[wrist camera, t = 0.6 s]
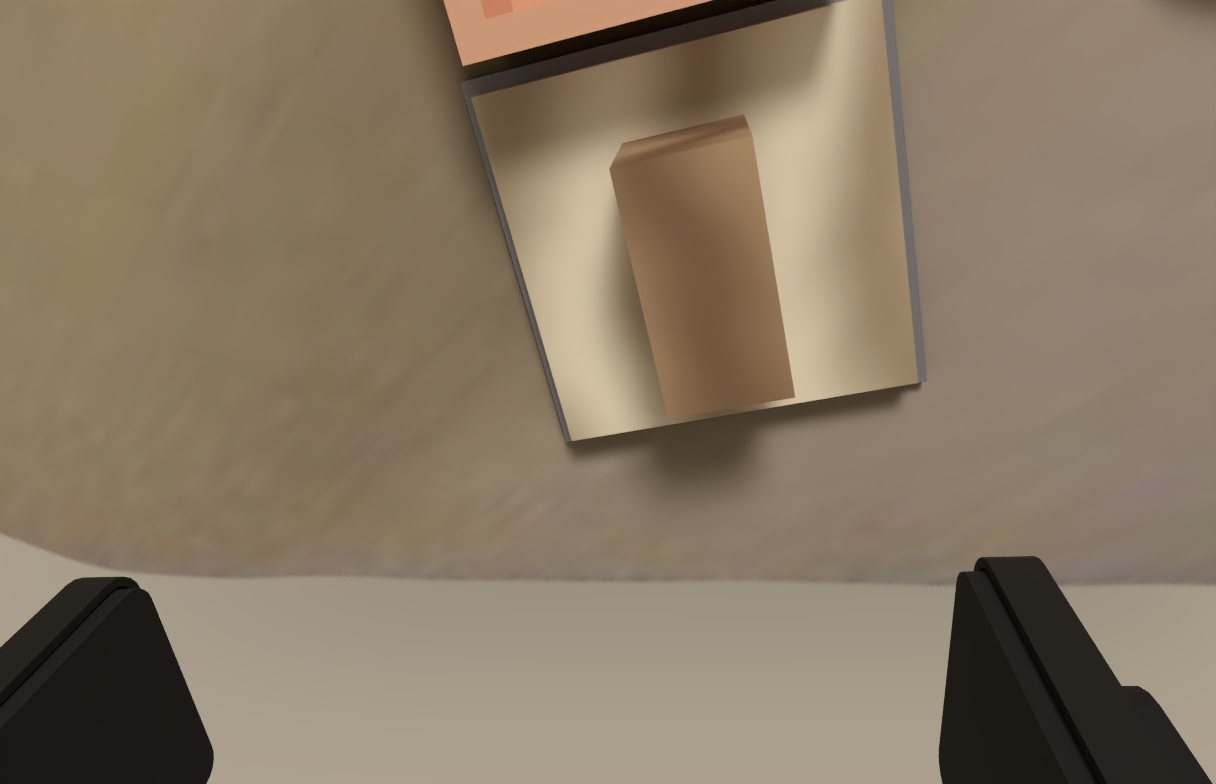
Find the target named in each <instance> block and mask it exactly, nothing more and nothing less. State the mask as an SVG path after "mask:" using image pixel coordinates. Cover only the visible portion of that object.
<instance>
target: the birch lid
mask: <svg viewBox="0 0 1216 784" xmlns="http://www.w3.org/2000/svg"><path fill="white" fill-rule="evenodd" d="M471 99H472V103H473V106H474V110H475V113H476V116H477V120H478V123H479V127H480V130H481V133H482V137H483V140H484V144H485V147H486V151H487V154H488V157H489V161H490V164H491V168H492V171H493V174H494V178H495V181H496V185H497V188H498V191H499V195H500V198H501V202H502V205H503V209H504V212H505V215H506V219H507V222H508V226H509V229H510V232H511V236H512V239H513V243H514V246H515V249H516V253H517V256H518V260H519V263H520V266H521V270H522V273H523V277H524V280H525V284H526V287H527V290H528V294H529V297H530V301H531V304H532V307H533V311H534V314H535V318H536V321H537V324H538V328H539V331H540V335H541V338H542V341H543V345H544V348H545V352H546V355H547V359H548V362H549V365H550V369H551V372H552V376H553V379H554V382H555V386H556V389H557V393H558V396H559V399H560V403H561V406H562V410H563V413H564V417H565V420H566V423H567V427H568V430H569V434H570V437H571V440H572V441H576V440H582V439H588V438H594V437H600V436H606V435H612V434H618V433H624V432H630V431H636V430H642V429H647V428H653V427H659V426H665V425H671V424H677V423H683V422H689V421H695V420H701V419H707V418H713V417H719V416H725V415H731V414H737V413H743V412H749V411H754V410H760V409H766V408H772V407H778V406H784V405H790V404H796V403H802V402H808V401H814V400H820V399H826V398H832V397H838V396H844V395H850V394H856V393H861V392H867V391H873V390H879V389H885V388H891V387H897V386H903V385H909V384H915V383H918V376H917V365H916V355H915V344H914V334H913V323H912V313H911V302H910V292H909V281H908V271H907V260H906V250H905V239H904V229H903V218H902V208H901V197H900V187H899V176H898V166H897V155H896V145H895V134H894V124H893V113H892V103H891V92H890V82H889V71H888V61H887V50H886V40H885V29H884V19H883V9H882V0H845V1H841V2H837V3H833V4H830V5H826V6H822V7H818V8H814V9H810V10H806V11H802V12H798V13H794V14H790V15H787V16H783V17H779V18H775V19H771V20H767V21H763V22H759V23H755V24H751V25H748V26H744V27H740V28H736V29H732V30H728V31H724V32H720V33H716V34H712V35H709V36H705V37H701V38H697V39H693V40H689V41H685V42H681V43H677V44H673V45H669V46H666V47H662V48H658V49H654V50H650V51H646V52H642V53H638V54H634V55H630V56H627V57H623V58H619V59H615V60H611V61H607V62H603V63H599V64H595V65H591V66H588V67H584V68H580V69H576V70H572V71H568V72H564V73H560V74H556V75H552V76H548V77H545V78H541V79H537V80H533V81H529V82H525V83H521V84H517V85H513V86H509V87H506V88H502V89H498V90H494V91H490V92H486V93H482V94H478V95H476V96H474V97H471Z"/></svg>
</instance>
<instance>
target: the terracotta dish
mask: <svg viewBox="0 0 1216 784" xmlns="http://www.w3.org/2000/svg"><path fill="white" fill-rule="evenodd" d="M708 1H712V0H444V3H445V7H446V10H447V14H448V17H449V20H450V24H451V27H452V31H453V34H454V38H455V41H456V44H457V48H458V51H459V55H460V58H461V61H462V65H463V66H465V65H469V64H473V63H477V62H480V61H484V60H488V59H492V58H496V57H499V56H503V55H507V54H511V53H515V52H518V51H522V50H526V49H530V48H534V47H537V46H541V45H545V44H549V43H552V42H556V41H560V40H564V39H568V38H571V37H575V36H579V35H583V34H587V33H590V32H594V31H598V30H602V29H605V28H609V27H613V26H617V25H621V24H624V23H628V22H632V21H636V20H640V19H643V18H647V17H651V16H655V15H659V14H662V13H666V12H670V11H674V10H677V9H681V8H685V7H689V6H693V5H696V4H700V3H704V2H708Z"/></svg>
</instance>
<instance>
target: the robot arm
mask: <svg viewBox="0 0 1216 784" xmlns="http://www.w3.org/2000/svg"><path fill="white" fill-rule="evenodd" d="M213 760H214V755H213V749H212V745H211V743H210V740H209V738H208V736H207V733H206V731H205V728H204V726H203V723H202V721H201V718H200V716H199V714H198V711H197V708H196V706H195V704H194V701H193V699H192V696H191V694H190V691H189V689H188V686H187V684H186V681H185V679H184V677H183V674H182V672H181V669H180V667H179V665H178V662H177V659H176V657H175V654H174V652H173V650H172V647H171V645H170V642H169V640H168V637H167V635H166V632H165V630H164V627H163V625H162V623H161V620H160V618H159V615H158V613H157V610H156V608H155V605H154V603H153V601H152V598H151V597H150V595H149V593H148V592H146V591H145V590H143V589H140V587H139V585H138V584H137V583H136V582H135V581H134V580H132V579H131V578H127V577H94V578H92V577H91V578H80V579H76V580H73V581H72V582H71V583H69V584H68V585H66V586H65V587H64V588H63V589H62V590H61V591H60V592H59V593H58V594H57V595H56V596H55V597H54V598H53V599H51V600H50V601H49V602H48V603H47V604H46V605H45V606H44V607H43V608H42V609H41V610H40V611H39V612H38V613H37V614H35V615H34V616H33V617H32V618H31V619H30V620H29V621H28V622H27V623H26V624H25V625H24V626H23V627H22V628H21V629H20V630H18V631H17V632H16V633H15V634H14V635H13V636H12V637H11V638H10V639H9V640H8V641H7V642H6V643H5V644H4V645H3V646H1V647H0V784H206V783H207V781H208V779H209V777H210V774H211V771H212V767H213ZM939 766H940V774H941V778H942V783H943V784H1212V782H1211V781H1210V779H1209V778H1208V776H1207V775H1206V773H1205V772H1204V770H1203V769H1202V767H1201V766H1200V764H1199V763H1198V761H1197V760H1196V758H1195V757H1194V755H1193V754H1192V752H1191V751H1190V750H1189V748H1188V747H1187V745H1186V744H1185V742H1184V741H1183V739H1182V738H1181V736H1180V735H1179V733H1178V732H1177V730H1176V729H1175V727H1174V726H1173V724H1172V723H1171V721H1170V720H1169V718H1168V717H1167V715H1166V714H1165V712H1164V711H1163V710H1162V708H1161V707H1160V705H1159V704H1158V703H1157V702H1156V701H1155V699H1154V698H1153V697H1152V696H1151V694H1150V693H1149V692H1147V691H1145V690H1144V689H1142V688H1141V687H1139V686H1121V684H1120V683H1119V681H1118V680H1117V678H1116V677H1115V675H1114V673H1113V672H1112V670H1111V669H1110V667H1109V665H1108V664H1107V663H1106V661H1105V659H1104V658H1103V656H1102V654H1101V653H1100V651H1099V650H1098V648H1097V647H1096V645H1095V643H1094V642H1093V640H1092V639H1091V637H1090V636H1089V634H1088V632H1087V631H1086V629H1085V628H1084V626H1083V625H1082V623H1081V621H1080V620H1079V618H1078V617H1077V615H1076V614H1075V612H1074V610H1073V609H1072V607H1071V606H1070V604H1069V603H1068V601H1067V599H1066V598H1065V596H1064V595H1063V593H1062V591H1061V590H1060V588H1059V587H1058V585H1057V584H1056V582H1055V580H1054V579H1053V577H1052V576H1051V574H1050V573H1049V571H1048V569H1047V568H1046V566H1045V565H1044V563H1043V562H1042V561H1041V560H1040V559H1039V558H1037V557H1035V556H1022V557H981V558H979V559H978V560H977V562H976V564H975V567H974V571H971V572H960V573H959V575H958V578H957V583H956V593H955V602H954V612H953V621H952V631H951V640H950V649H949V660H948V668H947V678H946V687H945V697H944V706H943V716H942V725H941V735H940V745H939Z"/></svg>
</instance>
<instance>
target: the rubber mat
mask: <svg viewBox="0 0 1216 784" xmlns="http://www.w3.org/2000/svg"><path fill="white" fill-rule="evenodd" d="M841 1H845V0H774V1H771V2H767V3H763V4H759V5H755V6H751V7H747V8H744V9H740V10H736V11H732V12H728V13H724V14H721V15H717V16H713V17H709V18H705V19H701V20H698V21H694V22H690V23H686V24H682V25H678V26H674V27H671V28H667V29H663V30H659V31H655V32H651V33H648V34H644V35H640V36H636V37H632V38H628V39H624V40H621V41H617V42H613V43H609V44H605V45H601V46H598V47H594V48H590V49H586V50H582V51H578V52H575V53H571V54H567V55H563V56H559V57H555V58H551V59H548V60H544V61H540V62H536V63H532V64H528V65H525V66H521V67H517V68H513V69H509V70H505V71H502V72H498V73H494V74H490V75H486V76H482V77H478V78H475V79H471V80H467V81H463V82H460V85H461V88H462V91H463V95H464V98H465V102H466V105H467V108H468V112H469V115H470V118H471V122H472V125H473V129H474V132H475V135H476V139H477V142H478V145H479V149H480V152H481V156H482V159H483V162H484V166H485V169H486V172H487V176H488V179H489V183H490V186H491V189H492V193H493V196H494V199H495V203H496V206H497V210H498V213H499V216H500V220H501V223H502V226H503V230H504V233H505V236H506V240H507V243H508V247H509V250H510V253H511V257H512V260H513V263H514V267H515V270H516V274H517V277H518V280H519V284H520V287H521V290H522V294H523V297H524V301H525V304H526V307H527V311H528V314H529V317H530V321H531V324H532V328H533V331H534V334H535V338H536V341H537V344H538V348H539V351H540V355H541V358H542V361H543V365H544V368H545V371H546V375H547V378H548V382H549V385H550V388H551V392H552V395H553V398H554V402H555V405H556V409H557V412H558V415H559V419H560V422H561V425H562V429H563V432H564V436H565V439H566V442H569V441H572V440H571V437H570V434H569V430H568V427H567V423H566V420H565V417H564V413H563V410H562V406H561V403H560V399H559V396H558V393H557V389H556V386H555V382H554V379H553V376H552V372H551V369H550V365H549V362H548V359H547V355H546V352H545V348H544V345H543V341H542V338H541V335H540V331H539V328H538V324H537V321H536V318H535V314H534V311H533V307H532V304H531V301H530V297H529V294H528V290H527V287H526V284H525V280H524V277H523V273H522V270H521V266H520V263H519V260H518V256H517V253H516V249H515V246H514V243H513V239H512V236H511V232H510V229H509V226H508V222H507V219H506V215H505V212H504V209H503V205H502V202H501V198H500V195H499V191H498V188H497V185H496V181H495V178H494V174H493V171H492V168H491V164H490V161H489V157H488V154H487V151H486V147H485V144H484V140H483V137H482V133H481V130H480V127H479V123H478V120H477V116H476V113H475V110H474V106H473V103H472V99H471V97H474V96H476V95H478V94H482V93H486V92H490V91H494V90H498V89H502V88H506V87H509V86H513V85H517V84H521V83H525V82H529V81H533V80H537V79H541V78H545V77H548V76H552V75H556V74H560V73H564V72H568V71H572V70H576V69H580V68H584V67H588V66H591V65H595V64H599V63H603V62H607V61H611V60H615V59H619V58H623V57H627V56H630V55H634V54H638V53H642V52H646V51H650V50H654V49H658V48H662V47H666V46H669V45H673V44H677V43H681V42H685V41H689V40H693V39H697V38H701V37H705V36H709V35H712V34H716V33H720V32H724V31H728V30H732V29H736V28H740V27H744V26H748V25H751V24H755V23H759V22H763V21H767V20H771V19H775V18H779V17H783V16H787V15H790V14H794V13H798V12H802V11H806V10H810V9H814V8H818V7H822V6H826V5H830V4H833V3H837V2H841ZM882 9H883V19H884V29H885V40H886V50H887V61H888V71H889V82H890V92H891V103H892V113H893V124H894V134H895V145H896V155H897V166H898V176H899V187H900V197H901V208H902V218H903V229H904V239H905V250H906V260H907V271H908V281H909V292H910V302H911V313H912V323H913V334H914V344H915V355H916V365H917V376H918V383H920V382H926V381H927V378H926V367H925V356H924V345H923V334H922V323H921V312H920V301H919V290H918V279H917V268H916V257H915V245H914V234H913V223H912V212H911V201H910V190H909V179H908V168H907V157H906V146H905V135H904V124H903V113H902V102H901V91H900V80H899V69H898V58H897V47H896V36H895V25H894V14H893V3H892V0H882Z"/></svg>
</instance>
